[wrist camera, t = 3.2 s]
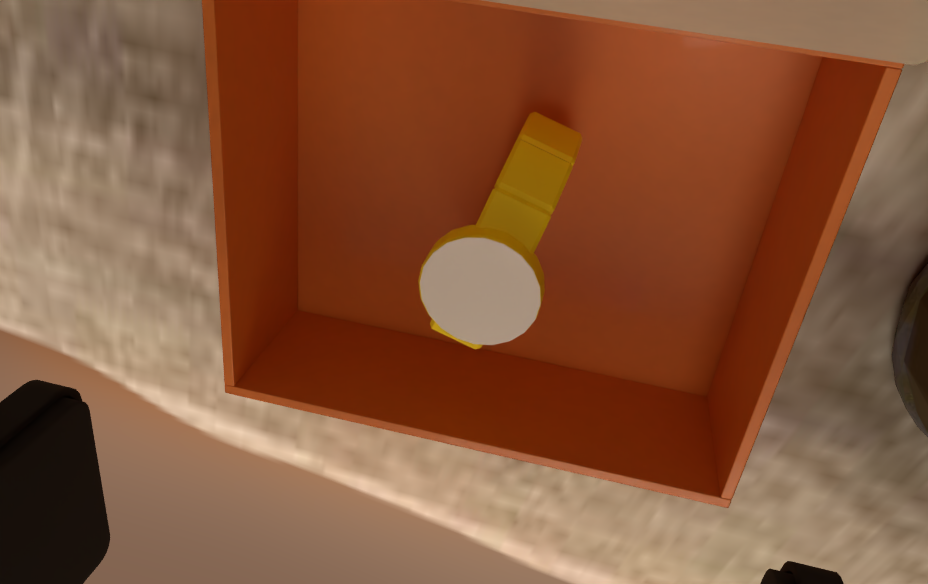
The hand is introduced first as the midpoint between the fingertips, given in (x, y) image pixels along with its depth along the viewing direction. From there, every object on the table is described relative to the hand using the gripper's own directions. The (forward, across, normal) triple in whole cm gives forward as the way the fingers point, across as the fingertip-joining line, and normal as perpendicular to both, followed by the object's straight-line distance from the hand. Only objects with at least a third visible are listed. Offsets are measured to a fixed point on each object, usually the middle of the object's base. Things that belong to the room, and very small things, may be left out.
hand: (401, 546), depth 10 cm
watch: (+13, 0, 0) cm, 13 cm away
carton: (+13, 0, 0) cm, 13 cm away
